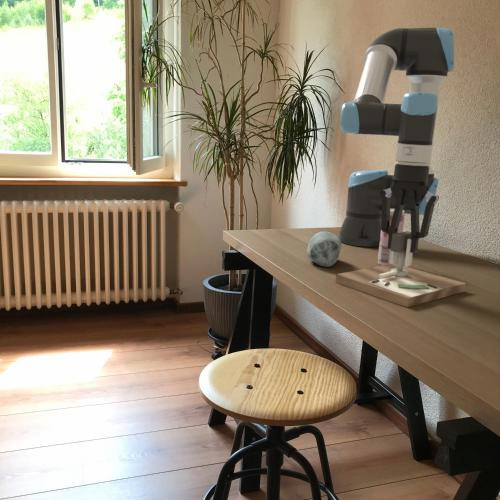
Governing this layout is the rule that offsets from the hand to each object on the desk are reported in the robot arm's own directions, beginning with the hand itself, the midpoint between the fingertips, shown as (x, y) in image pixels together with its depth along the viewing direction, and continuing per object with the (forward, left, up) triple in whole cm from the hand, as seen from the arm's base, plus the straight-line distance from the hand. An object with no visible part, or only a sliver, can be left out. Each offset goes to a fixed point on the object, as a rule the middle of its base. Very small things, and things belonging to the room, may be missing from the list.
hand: (400, 263), depth 123 cm
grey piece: (+2, 0, -3) cm, 4 cm away
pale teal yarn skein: (+2, -23, -5) cm, 24 cm away
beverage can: (-13, -13, -5) cm, 19 cm away
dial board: (+2, +2, -5) cm, 6 cm away
